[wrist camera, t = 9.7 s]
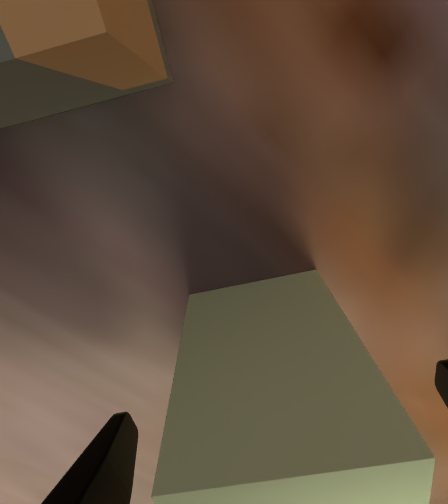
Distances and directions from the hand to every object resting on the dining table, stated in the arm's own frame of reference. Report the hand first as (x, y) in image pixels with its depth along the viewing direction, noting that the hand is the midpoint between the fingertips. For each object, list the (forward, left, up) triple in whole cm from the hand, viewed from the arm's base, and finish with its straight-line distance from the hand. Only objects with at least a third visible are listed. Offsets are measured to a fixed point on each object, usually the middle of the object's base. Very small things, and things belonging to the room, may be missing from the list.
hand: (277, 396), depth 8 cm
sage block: (0, 0, -3) cm, 3 cm away
